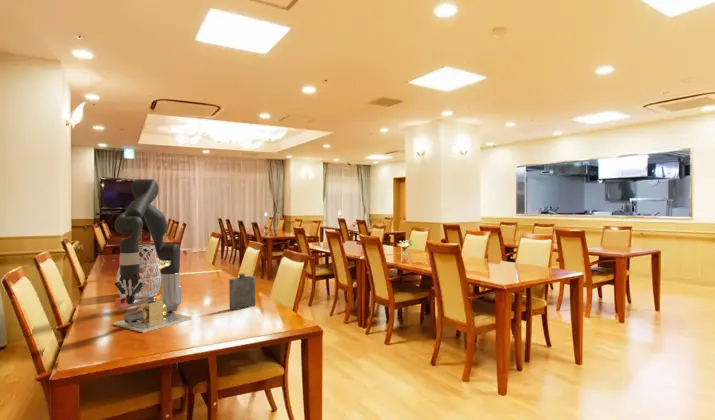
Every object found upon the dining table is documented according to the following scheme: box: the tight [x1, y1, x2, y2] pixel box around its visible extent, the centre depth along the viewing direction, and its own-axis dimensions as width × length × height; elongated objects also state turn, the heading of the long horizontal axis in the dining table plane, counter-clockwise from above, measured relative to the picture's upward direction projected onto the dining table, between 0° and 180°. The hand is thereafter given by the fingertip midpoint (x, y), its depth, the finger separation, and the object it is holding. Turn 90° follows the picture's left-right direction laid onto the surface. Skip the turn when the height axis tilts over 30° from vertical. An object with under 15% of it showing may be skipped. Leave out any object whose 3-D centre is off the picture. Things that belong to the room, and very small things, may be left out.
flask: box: [228, 272, 257, 310], centre depth 222 cm, size 4×14×18 cm, turn 129°
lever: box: [114, 295, 157, 311], centre depth 187 cm, size 21×4×5 cm, turn 165°
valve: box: [113, 298, 192, 333], centre depth 195 cm, size 24×23×10 cm
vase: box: [115, 244, 161, 300], centre depth 254 cm, size 24×24×30 cm
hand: (130, 303), depth 178 cm, fingers closed
